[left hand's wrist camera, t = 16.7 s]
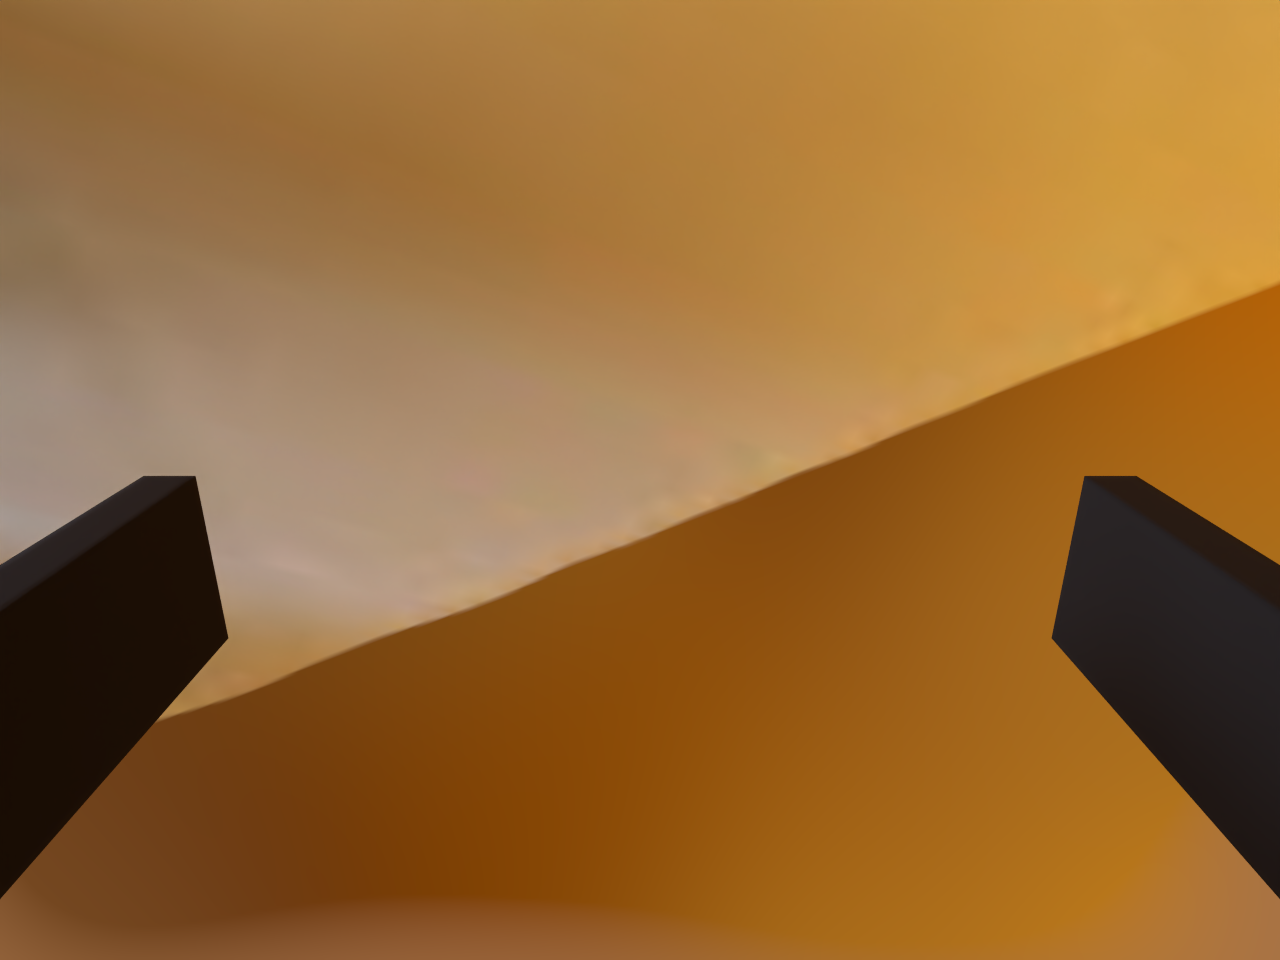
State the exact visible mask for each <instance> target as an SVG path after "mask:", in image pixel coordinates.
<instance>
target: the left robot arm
mask: <svg viewBox="0 0 1280 960" xmlns="http://www.w3.org/2000/svg"><path fill="white" fill-rule="evenodd" d="M227 639H228V634H227V629H226V624H225V619H224V614H223V609H222V604H221V600H220V595H219V590H218V585H217V580H216V575H215V570H214V565H213V560H212V555H211V550H210V545H209V540H208V535H207V531H206V526H205V521H204V516H203V511H202V506H201V501H200V496H199V491H198V486H197V481H196V476H143V477H141V478H140V479H138V480H136V481H135V482H133V483H132V484H130V485H128V486H127V487H125V488H124V489H122V490H120V491H119V492H117V493H116V494H114V495H112V496H111V497H109V498H108V499H106V500H104V501H103V502H101V503H99V504H98V505H96V506H95V507H93V508H91V509H90V510H88V511H87V512H85V513H83V514H82V515H80V516H79V517H77V518H75V519H74V520H72V521H70V522H69V523H67V524H66V525H64V526H62V527H61V528H59V529H58V530H56V531H54V532H53V533H51V534H50V535H48V536H46V537H45V538H43V539H42V540H40V541H38V542H37V543H35V544H33V545H32V546H30V547H29V548H27V549H25V550H24V551H22V552H21V553H19V554H17V555H16V556H14V557H13V558H11V559H9V560H8V561H6V562H4V563H3V564H1V565H0V899H1V897H2V896H3V895H4V894H5V893H6V892H7V891H8V889H9V888H10V887H11V886H12V885H13V884H14V883H15V881H16V880H17V879H18V878H19V877H20V876H21V875H22V873H23V872H24V871H25V870H26V869H27V868H28V867H29V865H30V864H31V863H32V862H33V861H34V860H35V859H36V857H37V856H38V855H39V854H40V853H41V852H42V851H43V849H44V848H45V847H46V846H47V845H48V844H49V843H50V841H51V840H52V839H53V838H54V837H55V836H56V834H57V833H58V832H59V831H60V830H61V829H62V828H63V827H64V825H65V824H66V823H67V822H68V821H69V820H70V819H71V817H72V816H73V815H74V814H75V813H76V812H77V811H78V809H79V808H80V807H81V806H82V805H83V804H84V802H85V801H86V800H87V799H88V798H89V797H90V796H91V795H92V793H93V792H94V791H95V790H96V789H97V788H98V787H99V785H100V784H101V783H102V782H103V781H104V780H105V778H106V777H107V776H108V775H109V774H110V773H111V772H112V771H113V769H114V768H115V767H116V766H117V765H118V764H119V763H120V761H121V760H122V759H123V758H124V757H125V756H126V755H127V753H128V752H129V751H130V750H131V749H132V748H133V747H134V745H135V744H136V743H137V742H138V741H139V740H140V738H141V737H142V736H143V735H144V734H145V733H146V732H147V730H148V729H149V728H150V727H151V726H152V725H153V724H154V723H155V721H156V720H157V719H158V718H159V717H160V716H161V715H162V713H163V712H164V711H165V710H166V709H167V708H168V707H169V705H170V704H171V703H172V702H173V701H174V700H175V699H176V697H177V696H178V695H179V694H180V693H181V692H182V691H183V689H184V688H185V687H186V686H187V685H188V684H189V683H190V681H191V680H192V679H193V678H194V677H195V676H196V675H197V673H198V672H199V671H200V670H201V669H202V668H203V667H204V665H205V664H206V663H207V662H208V661H209V660H210V659H211V657H212V656H213V655H214V654H215V653H216V652H217V651H218V649H219V648H220V647H221V646H222V645H223V644H224V643H225V641H226V640H227ZM1052 639H1053V640H1054V641H1055V643H1056V644H1057V645H1058V646H1059V647H1060V648H1061V649H1062V651H1063V652H1064V653H1065V654H1066V655H1067V656H1068V657H1069V659H1070V660H1071V661H1072V662H1073V663H1074V664H1075V665H1076V667H1077V668H1078V669H1079V670H1080V671H1081V672H1082V673H1083V674H1084V676H1085V677H1086V678H1087V679H1088V680H1089V681H1090V683H1091V684H1092V685H1093V686H1094V687H1095V688H1096V689H1097V691H1098V692H1099V693H1100V694H1101V695H1102V696H1103V697H1104V699H1105V700H1106V701H1107V702H1108V703H1109V704H1110V705H1111V707H1112V708H1113V709H1114V710H1115V711H1116V712H1117V713H1118V715H1119V716H1120V717H1121V718H1122V719H1123V720H1124V721H1125V723H1126V724H1127V725H1128V726H1129V727H1130V728H1131V729H1132V731H1133V732H1134V733H1135V734H1136V735H1137V736H1138V737H1139V739H1140V740H1141V741H1142V742H1143V743H1144V744H1145V745H1146V747H1147V748H1148V749H1149V750H1150V751H1151V752H1152V753H1153V754H1154V756H1155V757H1156V758H1157V759H1158V760H1159V761H1160V763H1161V764H1162V765H1163V766H1164V767H1165V768H1166V769H1167V771H1168V772H1169V773H1170V774H1171V775H1172V776H1173V777H1174V779H1175V780H1176V781H1177V782H1178V783H1179V784H1180V785H1181V787H1182V788H1183V789H1184V790H1185V791H1186V792H1187V793H1188V795H1189V796H1190V797H1191V798H1192V799H1193V800H1194V801H1195V803H1196V804H1197V805H1198V806H1199V807H1200V808H1201V809H1202V811H1203V812H1204V813H1205V814H1206V815H1207V816H1208V817H1209V818H1210V820H1211V821H1212V822H1213V823H1214V824H1215V825H1216V827H1217V828H1218V829H1219V830H1220V831H1221V832H1222V833H1223V834H1224V836H1225V837H1226V838H1227V839H1228V840H1229V841H1230V843H1231V844H1232V845H1233V846H1234V847H1235V848H1236V849H1237V851H1238V852H1239V853H1240V854H1241V855H1242V856H1243V857H1244V859H1245V860H1246V861H1247V862H1248V863H1249V864H1250V865H1251V867H1252V868H1253V869H1254V870H1255V871H1256V872H1257V873H1258V875H1259V876H1260V877H1261V878H1262V879H1263V880H1264V881H1265V883H1266V884H1267V885H1268V886H1269V887H1270V888H1271V889H1272V890H1273V892H1274V893H1275V894H1276V895H1277V896H1278V897H1279V899H1280V565H1279V564H1277V563H1276V562H1274V561H1272V560H1271V559H1269V558H1267V557H1266V556H1264V555H1263V554H1261V553H1259V552H1258V551H1256V550H1255V549H1253V548H1251V547H1250V546H1248V545H1247V544H1245V543H1243V542H1242V541H1240V540H1238V539H1237V538H1235V537H1234V536H1232V535H1230V534H1229V533H1227V532H1226V531H1224V530H1222V529H1221V528H1219V527H1218V526H1216V525H1214V524H1213V523H1211V522H1210V521H1208V520H1206V519H1205V518H1203V517H1201V516H1200V515H1198V514H1197V513H1195V512H1193V511H1192V510H1190V509H1189V508H1187V507H1185V506H1184V505H1182V504H1181V503H1179V502H1177V501H1176V500H1174V499H1172V498H1171V497H1169V496H1168V495H1166V494H1164V493H1163V492H1161V491H1160V490H1158V489H1156V488H1155V487H1153V486H1152V485H1150V484H1148V483H1147V482H1145V481H1144V480H1142V479H1140V478H1139V477H1137V476H1085V477H1084V481H1083V486H1082V491H1081V496H1080V501H1079V506H1078V511H1077V516H1076V521H1075V526H1074V531H1073V535H1072V540H1071V545H1070V550H1069V555H1068V560H1067V565H1066V570H1065V575H1064V580H1063V585H1062V590H1061V595H1060V600H1059V605H1058V609H1057V614H1056V619H1055V624H1054V629H1053V634H1052Z"/></svg>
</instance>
